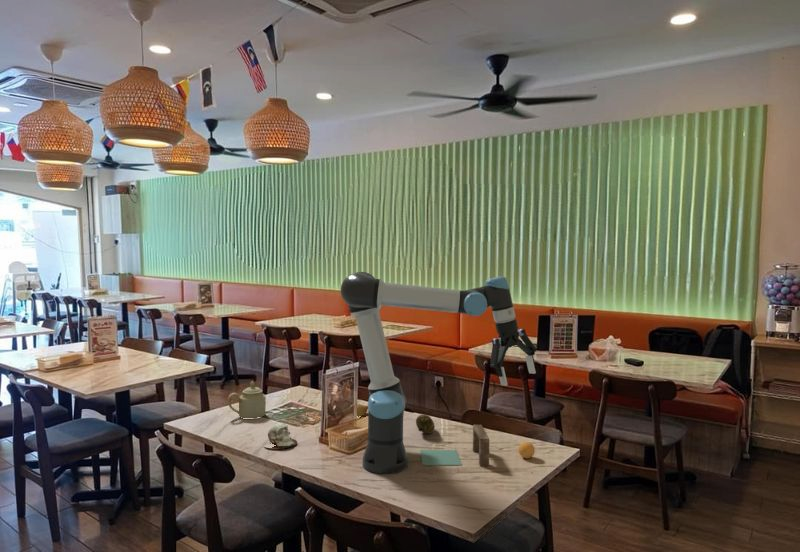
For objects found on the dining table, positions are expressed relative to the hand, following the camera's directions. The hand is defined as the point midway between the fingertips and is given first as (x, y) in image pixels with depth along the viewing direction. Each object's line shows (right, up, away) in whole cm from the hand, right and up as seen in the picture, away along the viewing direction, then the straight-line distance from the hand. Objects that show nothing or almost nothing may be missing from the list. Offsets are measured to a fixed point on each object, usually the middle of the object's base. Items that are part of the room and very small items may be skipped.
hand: (518, 379), depth 185 cm
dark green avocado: (-32, -26, +22) cm, 46 cm away
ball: (+2, -24, -3) cm, 24 cm away
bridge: (-14, -27, -3) cm, 30 cm away
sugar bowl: (-106, -24, +39) cm, 116 cm away
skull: (-86, -26, +7) cm, 90 cm away
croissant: (-63, -25, +39) cm, 78 cm away
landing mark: (-28, -26, -3) cm, 39 cm away
